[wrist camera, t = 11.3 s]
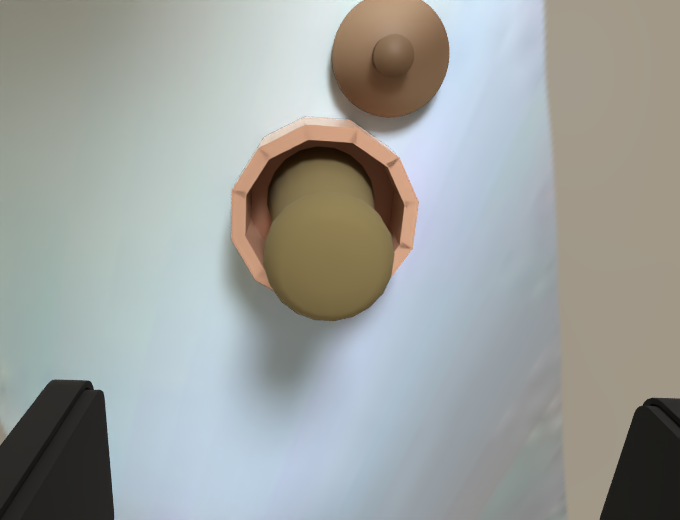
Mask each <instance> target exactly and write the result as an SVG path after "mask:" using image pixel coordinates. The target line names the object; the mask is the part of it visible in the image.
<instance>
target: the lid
mask: <svg viewBox="0 0 680 520" xmlns="http://www.w3.org/2000/svg"><path fill="white" fill-rule="evenodd" d="M448 63H449V42H448V37H447V33H446V31H445V28H444V25H443V23H442V22H441V20H440V18H439V17H438V15H437V14H436V12H435V11H434V10H433V9H432V8H431V7H430V6H429V5H428V4H426V3H425V2H424V1H422V0H363V1H362V2H360V3H359V4H357V5H356V6H355V7H354V8H353V9H352V10H351V11H350V12H349V13H348V14H347V16H346V17H345V19H344V20H343V22H342V23H341V25H340V27H339V29H338V31H337V33H336V36H335V39H334V44H333V50H332V64H333V70H334V74H335V78H336V80H337V83H338V85H339V87H340V88H341V90H342V92H343V93H344V94H345V96H346V97H347V98H348V99H349V100H350V101H351V102H352V103H353V104H354V105H356V106H357V107H358V108H360V109H362V110H364V111H365V112H367V113H370V114H373V115H376V116H381V117H398V116H403V115H406V114H409V113H412V112H414V111H416V110H418V109H419V108H421V107H422V106H424V105H425V104H426V103H427V102H428V101H429V100H430V99H431V98H432V97H433V96H434V95H435V94H436V92H437V91H438V89H439V88H440V86H441V84H442V82H443V80H444V78H445V75H446V72H447V68H448Z"/></svg>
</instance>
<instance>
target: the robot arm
mask: <svg viewBox="0 0 680 520" xmlns="http://www.w3.org/2000/svg"><path fill="white" fill-rule="evenodd" d="M0 520H114V506H113V494H112V482H111V470H110V458H109V446H108V434H107V422H106V410H105V398H104V393H103V391H101V390H94V389H93V385H92V383H91V382H90V381H83V380H52V381H50V382H49V383H48V384H47V386H46V387H45V388H44V390H43V391H42V392H41V393H40V395H39V396H38V397H37V399H36V400H35V401H34V403H33V404H32V405H31V406H30V408H29V409H28V410H27V412H26V413H25V414H24V416H23V417H22V418H21V419H20V421H19V422H18V423H17V425H16V426H15V427H14V428H13V430H12V431H11V432H10V434H9V435H8V436H7V438H6V439H5V440H4V441H3V443H2V444H1V445H0ZM600 520H680V399H675V398H674V399H673V398H650V399H647V400H646V401H645V402H644V404H643V406H640V407H638V408H637V409H636V411H635V413H634V416H633V419H632V422H631V425H630V428H629V431H628V434H627V438H626V440H625V443H624V446H623V449H622V452H621V456H620V459H619V462H618V465H617V468H616V471H615V474H614V477H613V480H612V483H611V486H610V489H609V492H608V495H607V498H606V501H605V504H604V507H603V510H602V513H601V516H600Z"/></svg>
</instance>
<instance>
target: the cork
mask: <svg viewBox="0 0 680 520" xmlns="http://www.w3.org/2000/svg"><path fill="white" fill-rule="evenodd" d="M267 206H268V210H269V213H270V217H271V220H272V225H271V228H270V230H269V233H268V235H267V238H266V240H265V244H264V262H263V265H264V268H265V271H266V275H267V278H268V282H269V284H270V286H271V287H272V289H273V290H274V292H275V293H276V294H277V296H278V297H279V299H280V300H281V302H282V303H284V304H285V305H286V306H288V307H289V308H290V309H292V310H293V311H294V312H296V313H297V314H300V315H303V316H305V317H308V318H311V319H314V320H325V321H336V320H341V319H345V318H349V317H353V316H355V315H357V314H359V313H360V312H362V311H364V310H366V309H368V308H369V307H370V306H371V305H372V304H373V303H374V302H375V301H376V300H377V299H378V298H379V297H380V296H381V295H382V294H383V292H384V290H385V288H386V286H387V284H388V282H389V280H390V278H391V275H392V269H393V262H394V254H395V253H394V248H393V243H392V238H391V234H390V232H389V230H388V229H387V227H386V225H385V224H384V222H383V220H382V218H381V217H380V215H379V213H377V212H376V211H375V210H374V192H373V187H372V182H371V179H370V178H369V176H368V174H367V172H366V171H365V169H364V167H363V166H362V165H361V164H360V163H359V162H358V161H357V160H356V159H354V158H353V157H352V156H351V155H350V154H347V153H345V152H343V151H340V150H338V149H336V148H330V147H318V146H316V147H312V148H308V149H304V150H300V151H298V152H296V153H295V154H293V155H292V156H290V157H288V158H287V159H285V160H284V161H283V163H282V164H281V165H280V166H279V167H278V169H277V170H276V171H275V172H274V174H273V177H272V179H271V182H270V184H269V187H268V197H267Z"/></svg>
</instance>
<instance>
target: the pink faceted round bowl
mask: <svg viewBox="0 0 680 520" xmlns="http://www.w3.org/2000/svg"><path fill="white" fill-rule="evenodd" d="M316 146H318V147H330V148H336V149H338V150H340V151H343V152H345V153H347V154H350V155H351V156H352V157H353V158H354V159H356V160H357V161H358V162H359V163H360V164H361V165H362V166H363V167H364V169H365V171H366V172H367V174H368V176H369V178H370V179H371V182H372V187H373V192H374V210H375V211H376V212H377V213H379V215H380V217H381V218H382V220H383V222H384V224H385V225H386V227H387V229H388V230H389V232H390V234H391V238H392V243H393V248H394V253H395V254H394V262H393V269H392V275H393V274H394V273H395V271H396V270H397V269H398V267H399V266H400V265H401V263H402V262H403V261H404V259H405V258H406V257H407V256H408V254H409V253H410V252H411V250H412V249H413V242H414V234H415V227H416V219H417V211H418V204H419V202H418V199H417V197H416V195H415V192H414V190H413V188H412V185H411V183H410V181H409V179H408V176H407V174H406V172H405V169H404V167H403V165H402V162H401V160H400V158H399V157H398V156H397V155H396V154H395V153H394V152H393V151H392V150H391V149H390V148H389V147H388V146H387V145H385V144H384V143H383V142H381V141H380V140H378V139H377V138H376V137H374V136H373V135H371V134H370V133H368V132H367V131H366V130H364V129H363V128H361V127H360V126H359V125H357V124H356V123H354V122H353V121H351V120H346V119H333V118H319V117H306V116H305V117H303V118H301V119H299V120H297V121H295V122H293V123H291V124H289V125H287V126H285V127H283V128H281V129H279V130H277V131H275V132H273V133H271V134H269V135H267V136H265V137H264V138H263V139H262V141H261V143H260V144H259V146H258V147H257V149H256V151H255V152H254V154H253V155H252V157H251V159H250V160H249V162H248V163H247V165H246V166H245V168H244V170H243V171H242V173H241V174H240V176H239V178H238V180H237V182H236V184H235V185H234V187H233V189H232V210H231V240H232V241H233V243H234V245H235V247H236V248H237V250H238V252H239V253H240V255H241V257H242V258H243V260H244V262H245V264H246V265H247V267H248V269H249V270H250V272H251V274H252V275H253V277H254V279H255V280H256V281H258V282H259V283H261V284H263V285H265V286H266V287H268V288H270V289H271V290H273V289H272V287H271V286H270V284H269V282H268V278H267V275H266V271H265V268H264V265H263V262H264V244H265V240H266V238H267V235H268V233H269V230H270V228H271V225H272V220H271V217H270V213H269V210H268V206H267V197H268V187H269V184H270V182H271V179H272V177H273V174H274V172H275V171H276V170H277V169H278V167H279V166H280V165H281V164H282V163H283V161H284V160H285V159H287V158H288V157H290V156H292V155H293V154H295V153H296V152H298V151H300V150H304V149H308V148H312V147H316ZM392 275H391V277H392ZM273 291H274V290H273Z"/></svg>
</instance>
